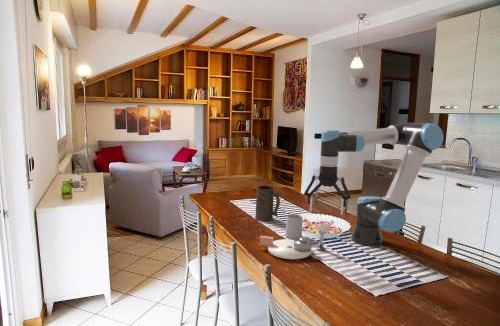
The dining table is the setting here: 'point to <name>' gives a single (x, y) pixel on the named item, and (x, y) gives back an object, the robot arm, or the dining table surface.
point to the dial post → (321, 236)
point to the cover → (302, 244)
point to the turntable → (283, 248)
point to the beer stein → (266, 203)
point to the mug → (293, 226)
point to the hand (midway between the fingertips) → (326, 212)
